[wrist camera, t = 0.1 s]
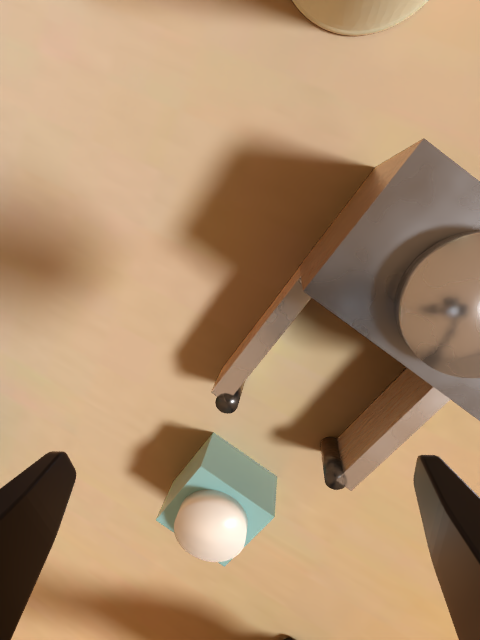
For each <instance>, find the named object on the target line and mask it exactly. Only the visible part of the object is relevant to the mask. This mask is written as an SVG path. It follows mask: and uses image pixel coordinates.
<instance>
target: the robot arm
mask: <svg viewBox="0 0 480 640" xmlns="http://www.w3.org/2000/svg"><path fill="white" fill-rule="evenodd" d="M75 479H76V470H75V468H74V466H73V465H72V463H71V461H70V459H69V457H68V455H67V454H66V453H65V452H55V451H53V452H49V453H47V454H45V455H44V456H43V457H41V458H40V459H39V460H38V461H36V462H35V463H34V464H32V465H31V466H30V467H28V468H27V469H26V470H24V471H23V472H22V473H20V474H19V475H18V476H17V477H15V478H14V479H13V480H11V481H10V482H9V483H7V484H6V485H5V486H3V487H2V488H1V489H0V640H11V638H12V636H13V633H14V631H15V629H16V627H17V624H18V622H19V620H20V618H21V615H22V613H23V611H24V608H25V606H26V604H27V602H28V599H29V597H30V595H31V593H32V590H33V588H34V586H35V584H36V581H37V579H38V577H39V575H40V572H41V570H42V568H43V566H44V563H45V561H46V559H47V556H48V554H49V552H50V550H51V547H52V545H53V543H54V540H55V538H56V535H57V532H58V530H59V527H60V524H61V521H62V518H63V515H64V512H65V509H66V506H67V503H68V500H69V498H70V495H71V492H72V489H73V486H74V483H75ZM414 488H415V492H416V496H417V501H418V505H419V509H420V513H421V518H422V522H423V526H424V531H425V535H426V539H427V543H428V548H429V552H430V556H431V559H432V562H433V566H434V569H435V572H436V575H437V578H438V580H439V583H440V586H441V589H442V592H443V595H444V598H445V601H446V604H447V607H448V609H449V612H450V615H451V618H452V621H453V624H454V627H455V630H456V633H457V636H458V638H459V640H480V497H479V496H478V495H477V494H476V493H475V492H474V491H473V490H472V489H471V488H470V487H469V486H468V485H467V484H466V483H465V482H464V481H463V480H462V479H461V478H460V477H459V476H458V475H457V474H456V473H455V472H454V471H453V470H452V469H451V468H450V467H449V466H448V465H447V464H446V463H445V462H444V461H443V460H442V459H441V458H439V457H438V456H435V455H420V456H419V457H418V458H417V462H416V468H415V473H414ZM285 640H292V639H289V638H287V639H285Z"/></svg>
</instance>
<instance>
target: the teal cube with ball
mask: <svg viewBox="0 0 480 640" xmlns="http://www.w3.org/2000/svg"><path fill="white" fill-rule="evenodd" d="M276 485H277V476H275V475H274V474H272V473H271V472H270V471H268V470H267V469H265V468H264V467H262V466H261V465H260V464H258V463H257V462H255V461H254V460H252V459H251V458H249V457H248V456H247V455H245V454H244V453H242V452H241V451H239V450H238V449H237V448H235V447H234V446H232V445H231V444H229V443H228V442H226V441H225V440H224V439H222V438H221V437H219V436H218V435H216V434H215V433H214V432H213V433H212V435H211V436H210V437H209V438H208V440H207V441H206V442H205V443H204V444H203V446H202V447H201V448H200V449H199V451H198V452H197V453H196V454H195V455H194V457H193V458H192V459H191V460H190V462H189V463H188V464H187V465H186V466H185V468H184V469H183V470H182V471H181V473H180V474H179V475H178V476H177V477H176V479H175V480H174V481H173V483H172V485H171V487H170V490H169V492H168V494H167V496H166V498H165V501H164V503H163V505H162V507H161V509H160V512H159V514H158V516H157V518H156V521H158V522H159V523H161V524H162V525H164V526H165V527H167V528H168V529H170V530H171V531H172V532H174V533H175V536H176V539H177V541H178V542H179V544H180V545H181V546H182V548H183V549H184V550H186V551H187V552H188V553H189V554H191V555H193V556H194V557H196V558H198V559H201V560H205V561H209V562H218V563H220V564H221V565H223V566H224V567H225V566H226V565H227V564H228V563H229V562H230V561H231V560H232V559H233V558H234V557H235V556H237V555H238V554H239V553H240V552H241V551H242V549H243V548H244V547H245V546H246V545H247V544H248V543H249V542H250V541H251V540H252V539H253V538H254V537H255V536H256V535H257V534H258V533H259V532H260V531H261V530H262V529H263V528H264V527H265V526H266V525H267V524H268V523H269V522H270V521H271V520H272V519H273V518H274V517H275V501H276Z"/></svg>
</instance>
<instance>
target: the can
mask: <svg viewBox="0 0 480 640" xmlns="http://www.w3.org/2000/svg"><path fill="white" fill-rule="evenodd" d="M292 1H293V3H294V4H295V5H296V7H297V8H298V9H299V10H300V11H301V12H302V13H303V14H304V15H305V16H306V17H307V18H308V19H309V20H310V21H311V22H313V23H315V24H316V25H318V26H319V27H321V28H323V29H325V30H327V31H330V32H333V33H337V34H341V35H349V36H360V35H369V34H374V33H378V32H381V31H384V30H387V29H389V28H391V27H393V26H395V25H397V24H399V23H401V22H403V21H404V20H406V19H407V18H409V17H410V16H412V15H413V14H414V13H415V12H417V11H418V10H419V9H420V8H421V7H422V6H424V5H425V4H426V3H427V2H428V1H429V0H292Z"/></svg>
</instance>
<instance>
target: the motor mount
mask: <svg viewBox="0 0 480 640" xmlns="http://www.w3.org/2000/svg"><path fill="white" fill-rule="evenodd" d="M311 298H313V299H314V300H316V301H317V302H318V303H320V304H321V305H322V306H324V307H325V308H326V309H328V310H329V311H331V312H332V313H333V314H335V315H336V316H337V317H339V318H340V319H341V320H343V321H344V322H346V323H347V324H348V325H350V326H351V327H352V328H354V329H355V330H356V331H358V332H359V333H361V334H362V335H363V336H365V337H366V338H367V339H369V340H370V341H371V342H373V343H374V344H376V345H377V346H378V347H380V348H381V349H382V350H384V351H385V352H387V353H388V354H389V355H391V356H392V357H393V358H395V359H396V360H397V361H399V362H400V363H402V364H403V365H404V366H406V367H407V368H406V369H405V370H404V371H403V372H402V373H401V374H400V375H399V376H398V377H397V379H396V380H395V381H394V382H393V383H392V384H391V385H390V386H389V387H388V388H387V389H386V390H385V391H384V392H383V393H382V394H381V395H380V396H379V397H378V398H377V399H376V400H375V401H374V402H373V403H372V404H371V405H370V406H369V407H368V408H367V409H366V410H365V411H364V412H363V413H362V414H361V415H360V416H359V417H358V418H357V419H356V420H355V421H354V422H353V423H352V424H351V425H350V426H349V427H348V428H347V429H346V430H345V431H344V432H343V433H342V434H341V435H340V436H339V437H338V438H337V439H336V438H334V437H327V438H325V439H323V440H322V442H321V453H322V462H323V470H324V478H325V483H326V485H327V486H328V487H329V488H331V489H335V490H338V489H342V488H344V487H346V488H348V489H349V490H351V491H352V490H353V489H354V488H355V487H356V486H357V485H358V484H359V483H360V482H362V481H363V480H364V479H365V478H366V477H367V476H368V475H369V474H370V473H371V472H372V471H373V470H375V469H376V468H377V467H378V466H379V465H380V464H381V463H382V462H383V461H384V460H385V459H386V458H388V457H389V456H390V455H391V454H392V453H393V452H394V451H395V450H396V449H397V448H398V447H399V446H401V445H402V444H403V443H404V442H405V441H406V440H407V439H408V438H409V437H410V436H411V435H412V434H413V433H415V432H416V431H417V430H418V429H419V428H420V427H421V426H422V425H423V424H424V423H425V422H426V421H428V420H429V419H430V418H431V417H432V416H433V415H434V414H435V413H436V412H437V411H438V410H439V409H441V408H442V407H443V406H444V405H445V404H446V403H447V402H448V401H449V400H450V399H451V400H452V401H453V402H455V403H456V404H457V405H459V406H460V407H462V408H463V409H464V410H466V411H467V412H468V413H470V414H471V415H472V416H474V417H475V418H477V419H478V420H479V421H480V181H478V180H477V179H476V178H474V177H473V176H472V175H471V174H469V173H468V172H467V171H465V170H464V169H463V168H461V167H460V166H459V165H458V164H456V163H455V162H454V161H452V160H451V159H450V158H449V157H447V156H446V155H445V154H443V153H442V152H441V151H440V150H438V149H437V148H436V147H434V146H433V145H432V144H431V143H429V142H428V141H427V140H425V139H422V140H420V141H418V142H417V143H415V144H413V145H412V146H410V147H408V148H407V149H405V150H403V151H402V152H400V153H398V154H396V155H395V156H393V157H391V158H390V159H388V160H386V161H385V162H383V163H381V164H380V165H378V166H376V167H375V168H374V169H373V171H372V172H371V173H370V174H369V176H368V177H367V178H366V180H365V181H364V182H363V184H362V185H361V186H360V188H359V189H358V190H357V191H356V193H355V194H354V195H353V197H352V198H351V199H350V201H349V202H348V203H347V205H346V206H345V207H344V208H343V210H342V211H341V212H340V214H339V215H338V216H337V218H336V219H335V220H334V222H333V223H332V224H331V225H330V227H329V228H328V229H327V231H326V232H325V233H324V235H323V236H322V237H321V238H320V240H319V241H318V242H317V244H316V245H315V246H314V248H313V249H312V250H311V252H310V253H309V254H308V255H307V257H306V258H305V259H304V261H303V262H302V263H301V265H300V267H299V269H298V270H297V271H296V272H295V274H294V275H293V276H292V278H291V279H290V280H289V282H288V283H287V284H286V285H285V287H284V288H283V289H282V291H281V292H280V293H279V295H278V296H277V297H276V299H275V300H274V301H273V302H272V304H271V305H270V306H269V308H268V309H267V310H266V312H265V313H264V314H263V315H262V317H261V318H260V319H259V321H258V322H257V323H256V325H255V326H254V327H253V329H252V330H251V331H250V332H249V334H248V335H247V336H246V338H245V339H244V340H243V342H242V343H241V344H240V346H239V347H238V348H237V349H236V351H235V352H234V353H233V355H232V356H231V357H230V359H229V360H228V361H227V362H226V364H225V365H224V366H223V368H222V369H221V371H220V374H219V376H218V378H217V380H216V382H215V384H214V387H213V389H212V391H211V393H213V394H214V395H215V396H217V398H216V407H217V408H218V409H219V410H220V411H221V412H223V413H232V412H234V411H235V410H236V409H237V407H238V403H239V400H240V396H241V393H242V389H243V386H244V383H245V380H246V379H247V378H248V376H249V375H250V374H251V373H252V371H253V370H254V369H255V368H256V366H257V365H258V364H259V363H260V361H261V360H262V359H263V358H264V356H265V355H266V354H267V353H268V351H269V350H270V349H271V348H272V346H273V345H274V344H275V343H276V342H277V340H278V339H279V338H280V337H281V335H282V334H283V333H284V332H285V330H286V329H287V328H288V327H289V325H290V324H291V323H292V322H293V320H294V319H295V318H296V317H297V315H298V314H299V313H300V312H301V311H302V309H303V308H304V307H305V306H306V304H307V303H308V302H309V301H310V299H311Z"/></svg>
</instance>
